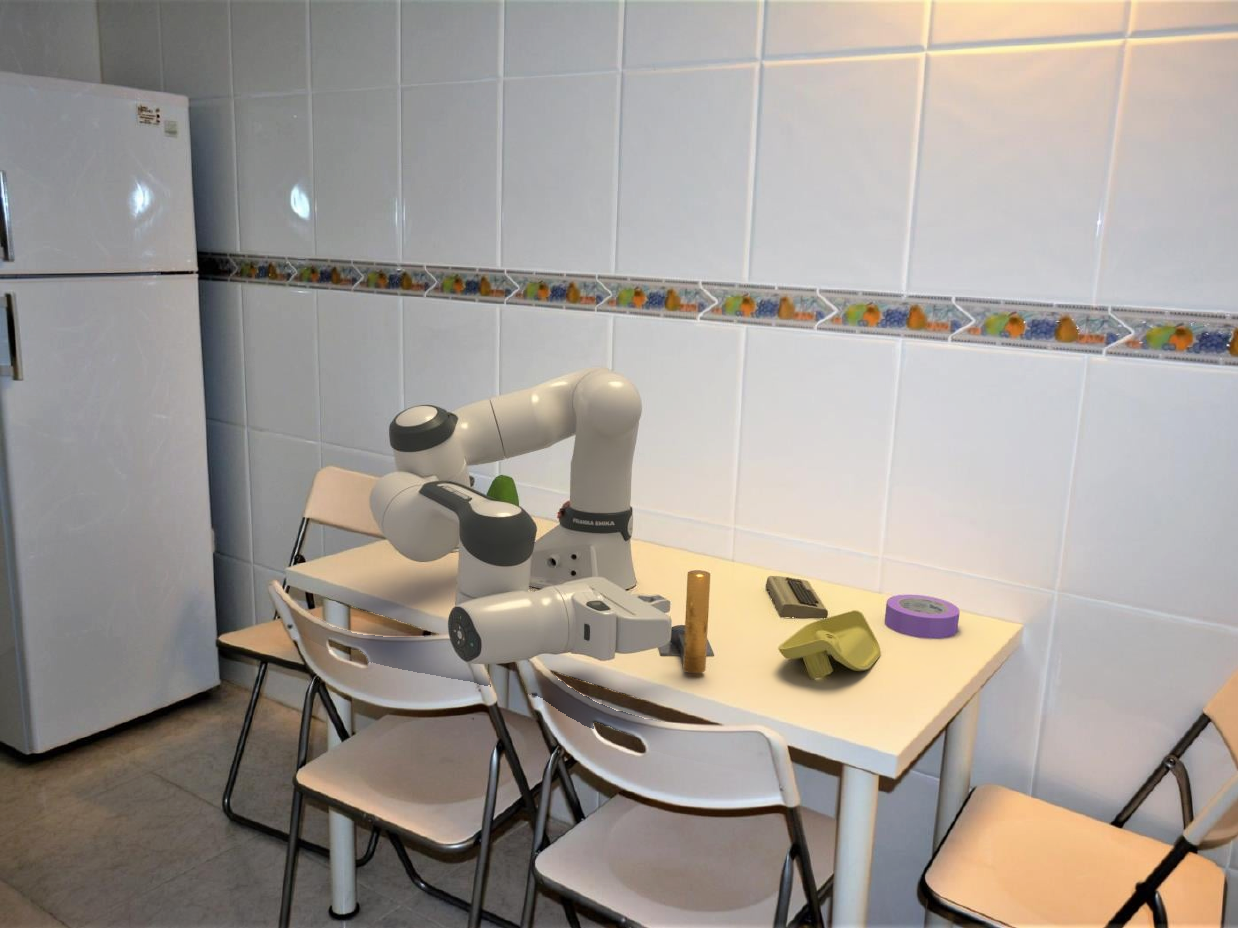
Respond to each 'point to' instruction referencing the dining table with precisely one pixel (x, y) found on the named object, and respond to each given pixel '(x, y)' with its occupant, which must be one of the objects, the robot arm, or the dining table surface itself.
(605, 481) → the robot arm
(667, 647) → the pivot plate
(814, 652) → the plastic component
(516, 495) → the avocado
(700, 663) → the crank handle
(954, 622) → the masking tape
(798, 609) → the computer
